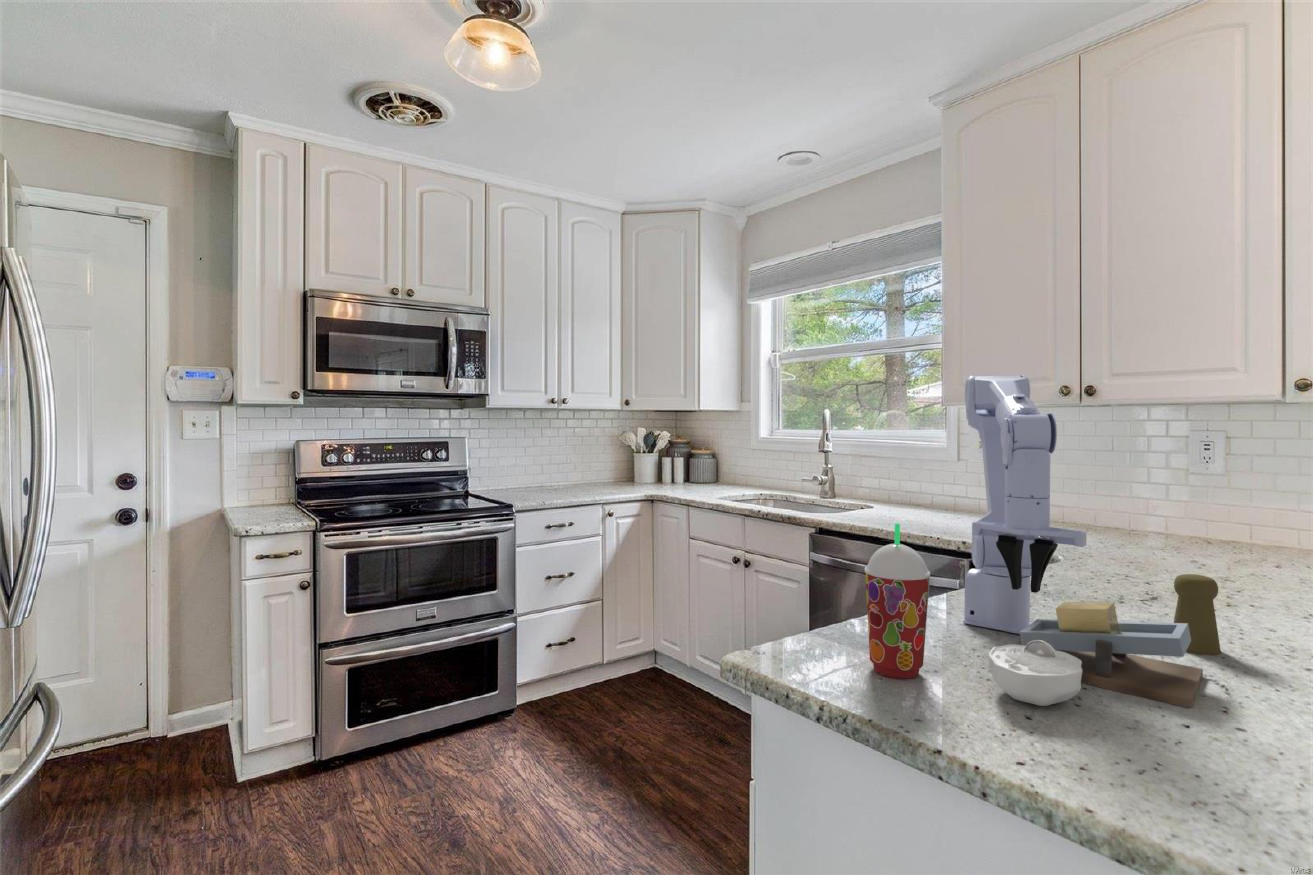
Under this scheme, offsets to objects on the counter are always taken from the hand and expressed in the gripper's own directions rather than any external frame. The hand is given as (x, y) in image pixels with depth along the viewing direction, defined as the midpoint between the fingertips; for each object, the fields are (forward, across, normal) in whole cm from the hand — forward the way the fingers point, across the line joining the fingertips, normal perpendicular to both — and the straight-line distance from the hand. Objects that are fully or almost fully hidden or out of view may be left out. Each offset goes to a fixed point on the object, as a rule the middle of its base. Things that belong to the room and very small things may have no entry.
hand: (1026, 589), depth 96 cm
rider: (+5, +8, 0) cm, 9 cm away
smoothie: (+10, -10, -20) cm, 25 cm away
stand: (+9, +10, 0) cm, 14 cm away
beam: (+6, +10, 0) cm, 11 cm away
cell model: (+10, +6, -17) cm, 20 cm away
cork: (+10, +18, +21) cm, 29 cm away
